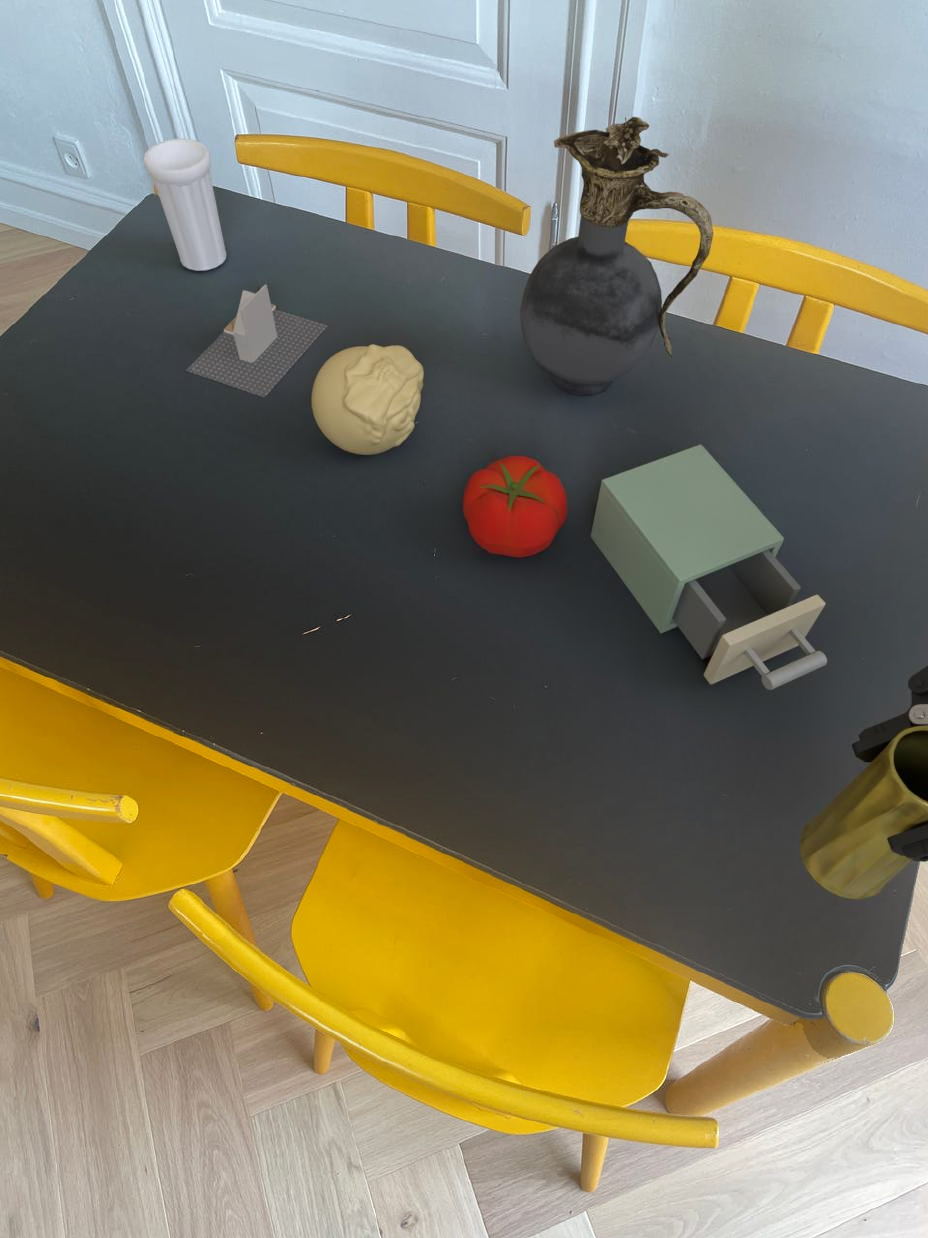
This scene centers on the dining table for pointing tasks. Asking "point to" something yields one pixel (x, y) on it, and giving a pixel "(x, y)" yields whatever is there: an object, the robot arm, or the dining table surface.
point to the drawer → (749, 620)
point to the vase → (870, 820)
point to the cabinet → (676, 527)
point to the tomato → (514, 507)
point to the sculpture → (368, 398)
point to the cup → (188, 200)
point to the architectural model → (257, 346)
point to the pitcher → (604, 268)
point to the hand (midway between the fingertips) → (877, 799)
